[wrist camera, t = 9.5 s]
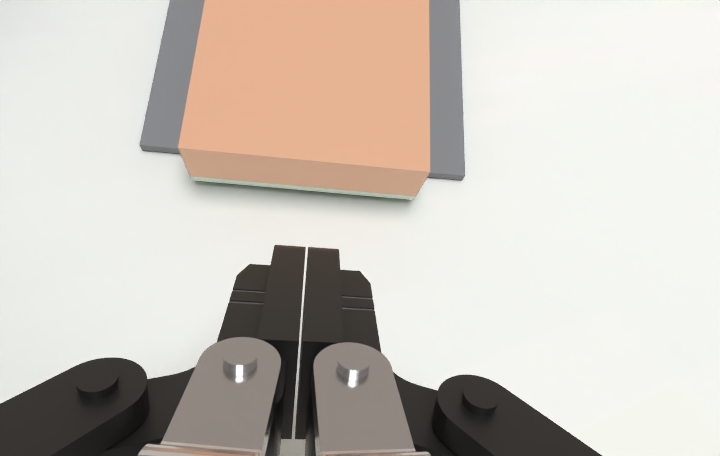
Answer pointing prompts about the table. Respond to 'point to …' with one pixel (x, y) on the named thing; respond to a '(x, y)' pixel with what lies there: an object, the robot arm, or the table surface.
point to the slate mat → (444, 84)
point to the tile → (311, 96)
